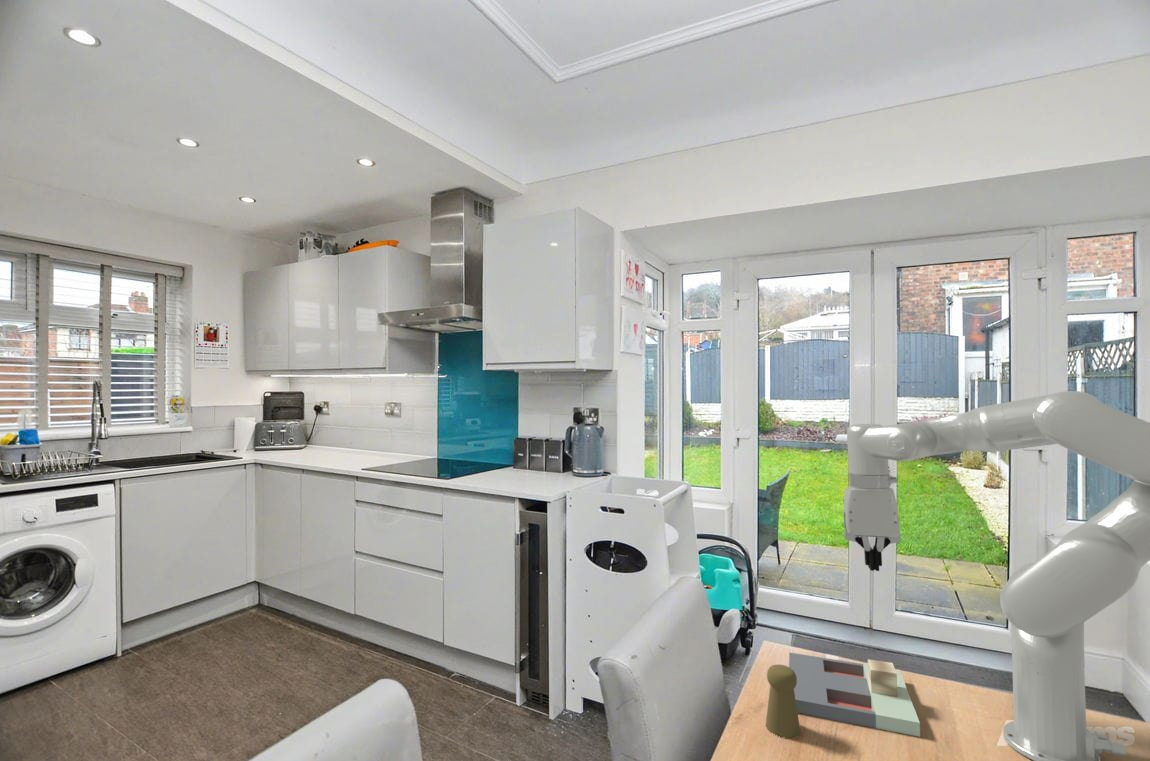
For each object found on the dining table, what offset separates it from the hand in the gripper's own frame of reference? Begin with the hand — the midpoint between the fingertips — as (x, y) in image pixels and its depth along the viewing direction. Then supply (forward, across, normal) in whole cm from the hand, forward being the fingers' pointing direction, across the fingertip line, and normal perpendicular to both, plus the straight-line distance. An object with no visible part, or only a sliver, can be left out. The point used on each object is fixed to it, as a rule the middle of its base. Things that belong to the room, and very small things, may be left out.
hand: (873, 568), depth 115 cm
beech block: (+22, 0, +6) cm, 23 cm away
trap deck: (+24, +7, +6) cm, 26 cm away
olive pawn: (+25, +20, +21) cm, 38 cm away
